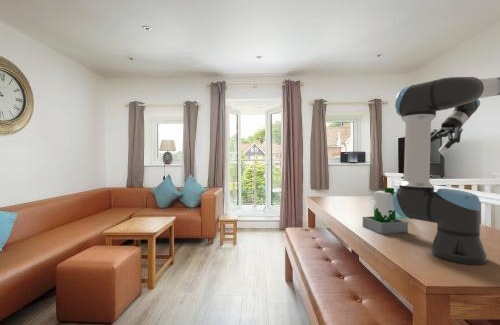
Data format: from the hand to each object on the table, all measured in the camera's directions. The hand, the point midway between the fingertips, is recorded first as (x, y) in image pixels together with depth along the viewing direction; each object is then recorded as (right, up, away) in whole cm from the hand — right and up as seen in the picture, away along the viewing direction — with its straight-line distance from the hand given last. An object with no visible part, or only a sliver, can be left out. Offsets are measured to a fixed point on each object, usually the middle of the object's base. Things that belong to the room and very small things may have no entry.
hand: (427, 153), depth 122 cm
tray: (-19, -38, +3) cm, 42 cm away
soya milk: (-19, -37, +3) cm, 42 cm away
